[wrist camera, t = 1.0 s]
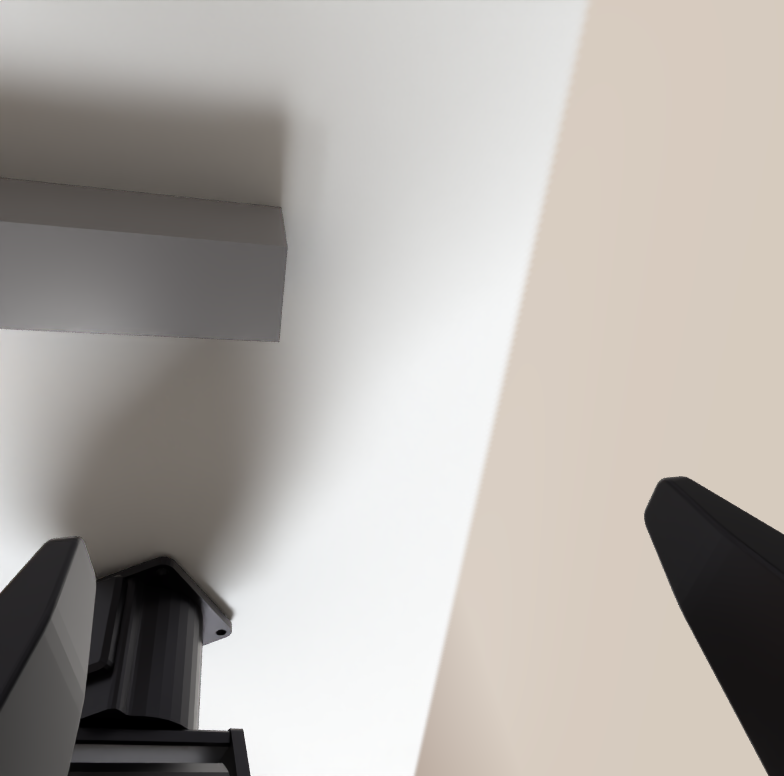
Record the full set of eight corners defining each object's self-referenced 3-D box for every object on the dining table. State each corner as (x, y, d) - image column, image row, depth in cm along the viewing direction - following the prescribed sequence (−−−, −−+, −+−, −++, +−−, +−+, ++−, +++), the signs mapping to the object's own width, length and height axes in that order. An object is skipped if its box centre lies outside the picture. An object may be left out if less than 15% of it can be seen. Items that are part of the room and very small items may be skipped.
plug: (282, 191, 18) (291, 244, 15) (273, 307, 21) (279, 375, 17) (-306, 124, 15) (-456, 176, 11) (-239, 275, 17) (-348, 354, 14)
